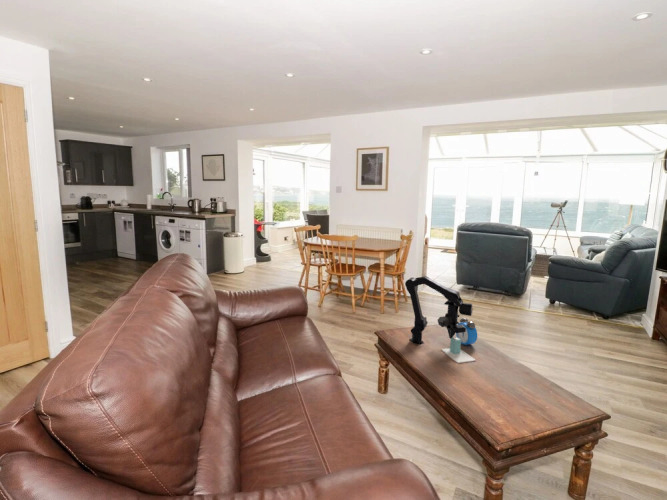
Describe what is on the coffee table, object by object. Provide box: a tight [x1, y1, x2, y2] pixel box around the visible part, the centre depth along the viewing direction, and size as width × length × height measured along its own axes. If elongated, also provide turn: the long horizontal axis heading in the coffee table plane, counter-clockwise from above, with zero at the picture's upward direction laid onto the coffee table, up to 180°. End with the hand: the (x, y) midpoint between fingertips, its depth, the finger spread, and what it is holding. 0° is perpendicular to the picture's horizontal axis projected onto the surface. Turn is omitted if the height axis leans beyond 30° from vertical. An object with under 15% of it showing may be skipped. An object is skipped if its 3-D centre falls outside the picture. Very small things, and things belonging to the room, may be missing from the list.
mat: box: [441, 347, 476, 364], centre depth 201 cm, size 16×11×1 cm
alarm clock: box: [455, 317, 478, 346], centre depth 215 cm, size 13×6×15 cm, turn 17°
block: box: [449, 336, 462, 354], centre depth 203 cm, size 4×4×8 cm
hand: (450, 338), depth 208 cm, fingers closed
